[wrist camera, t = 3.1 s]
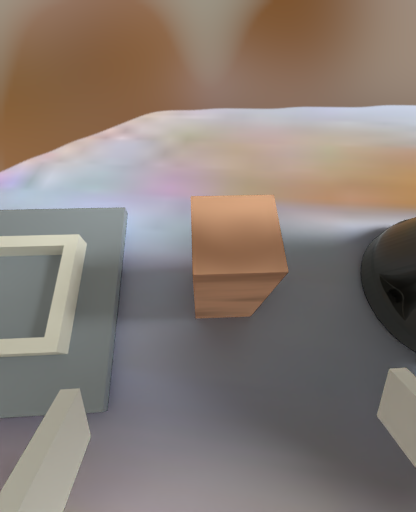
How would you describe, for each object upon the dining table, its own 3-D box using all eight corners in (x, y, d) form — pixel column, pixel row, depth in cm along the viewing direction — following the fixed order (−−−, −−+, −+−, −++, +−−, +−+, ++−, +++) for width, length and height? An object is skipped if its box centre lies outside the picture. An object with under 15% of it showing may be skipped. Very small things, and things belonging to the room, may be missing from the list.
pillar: (194, 267, 28) (190, 196, 17) (244, 265, 28) (273, 194, 17) (195, 318, 25) (192, 274, 15) (250, 316, 26) (288, 271, 15)
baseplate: (-32, 216, 29) (-57, 199, 27) (127, 213, 30) (120, 196, 27) (-118, 423, 21) (-168, 430, 18) (107, 410, 22) (93, 415, 19)
